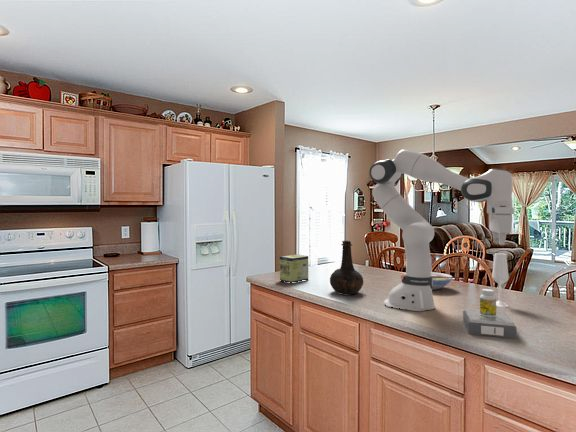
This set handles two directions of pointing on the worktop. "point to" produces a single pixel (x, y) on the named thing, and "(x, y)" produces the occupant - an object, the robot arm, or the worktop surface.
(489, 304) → the supplement bottle
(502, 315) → the scale pan
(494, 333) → the scale base
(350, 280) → the glass bottle
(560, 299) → the worktop surface
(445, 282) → the ramen bowl
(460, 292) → the worktop surface
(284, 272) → the protein box
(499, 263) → the champagne flute
